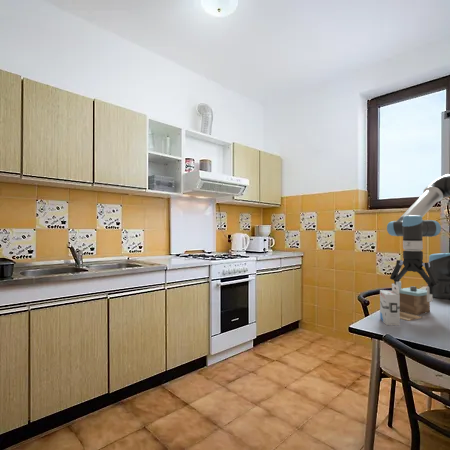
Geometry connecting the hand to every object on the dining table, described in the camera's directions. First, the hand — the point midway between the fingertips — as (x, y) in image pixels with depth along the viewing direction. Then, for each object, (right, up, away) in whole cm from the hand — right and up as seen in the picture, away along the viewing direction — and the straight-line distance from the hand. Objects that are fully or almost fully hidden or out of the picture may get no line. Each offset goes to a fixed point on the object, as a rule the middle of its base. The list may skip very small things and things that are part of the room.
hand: (413, 298), depth 136 cm
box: (0, -6, 0) cm, 6 cm away
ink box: (-19, -6, -16) cm, 25 cm away
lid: (0, +1, 0) cm, 1 cm away
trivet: (-9, -6, -8) cm, 13 cm away
